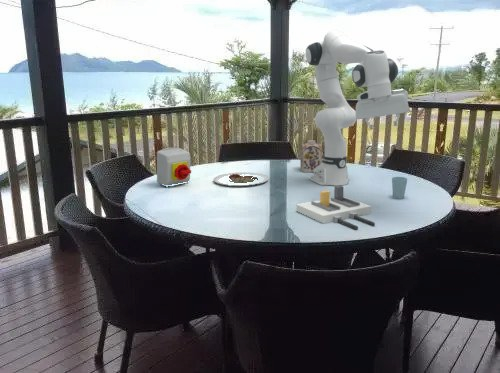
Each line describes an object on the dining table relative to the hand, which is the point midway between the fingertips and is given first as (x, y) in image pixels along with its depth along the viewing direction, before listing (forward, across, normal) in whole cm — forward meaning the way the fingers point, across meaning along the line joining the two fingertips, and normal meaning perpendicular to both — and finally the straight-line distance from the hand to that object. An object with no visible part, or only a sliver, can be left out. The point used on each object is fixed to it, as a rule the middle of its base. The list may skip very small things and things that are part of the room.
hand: (383, 127), depth 168 cm
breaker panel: (+31, +23, +9) cm, 39 cm away
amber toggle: (+27, +26, +11) cm, 39 cm away
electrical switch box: (+17, +107, -22) cm, 110 cm away
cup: (+34, -3, -20) cm, 40 cm away
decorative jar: (+25, +43, -72) cm, 87 cm away
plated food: (+22, +76, -37) cm, 87 cm away
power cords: (+33, +14, +21) cm, 41 cm away
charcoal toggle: (+28, +21, +2) cm, 35 cm away
